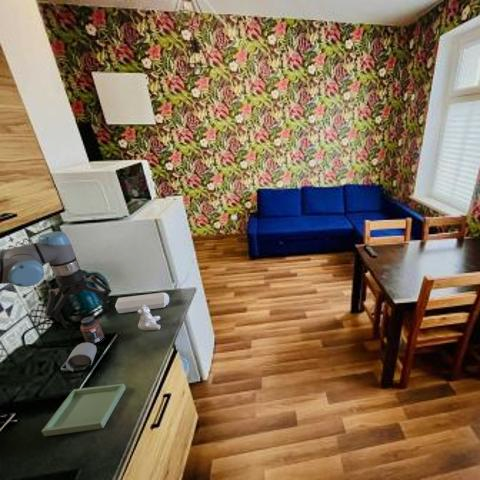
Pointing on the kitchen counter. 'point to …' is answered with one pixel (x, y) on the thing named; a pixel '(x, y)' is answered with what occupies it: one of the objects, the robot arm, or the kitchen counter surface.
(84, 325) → the supplement bottle
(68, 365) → the ceramic mug
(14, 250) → the robot arm
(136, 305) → the white rounded cylinder
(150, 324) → the sitting furry creature
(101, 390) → the bottle tray
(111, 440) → the kitchen counter surface
